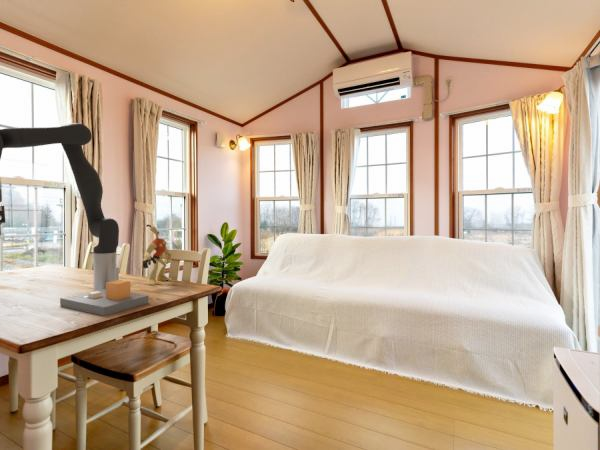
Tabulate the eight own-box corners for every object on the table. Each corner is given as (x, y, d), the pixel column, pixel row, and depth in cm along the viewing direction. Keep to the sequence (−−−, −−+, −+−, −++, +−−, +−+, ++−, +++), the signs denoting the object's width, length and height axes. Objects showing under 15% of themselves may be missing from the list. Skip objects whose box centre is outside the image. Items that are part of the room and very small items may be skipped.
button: (96, 298, 127) (96, 291, 127) (101, 299, 125) (101, 292, 125) (88, 300, 124) (88, 293, 124) (93, 301, 122) (93, 293, 122)
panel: (106, 295, 139) (106, 287, 139) (148, 303, 128) (148, 294, 128) (60, 306, 123) (60, 296, 122) (103, 315, 111) (103, 305, 111)
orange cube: (120, 294, 129) (120, 279, 128) (130, 296, 126) (130, 281, 126) (105, 298, 123) (105, 282, 123) (116, 300, 121) (116, 284, 120)
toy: (149, 288, 152) (149, 225, 150) (133, 288, 153) (132, 225, 152) (176, 279, 174) (176, 224, 173) (161, 278, 176) (161, 223, 175)
